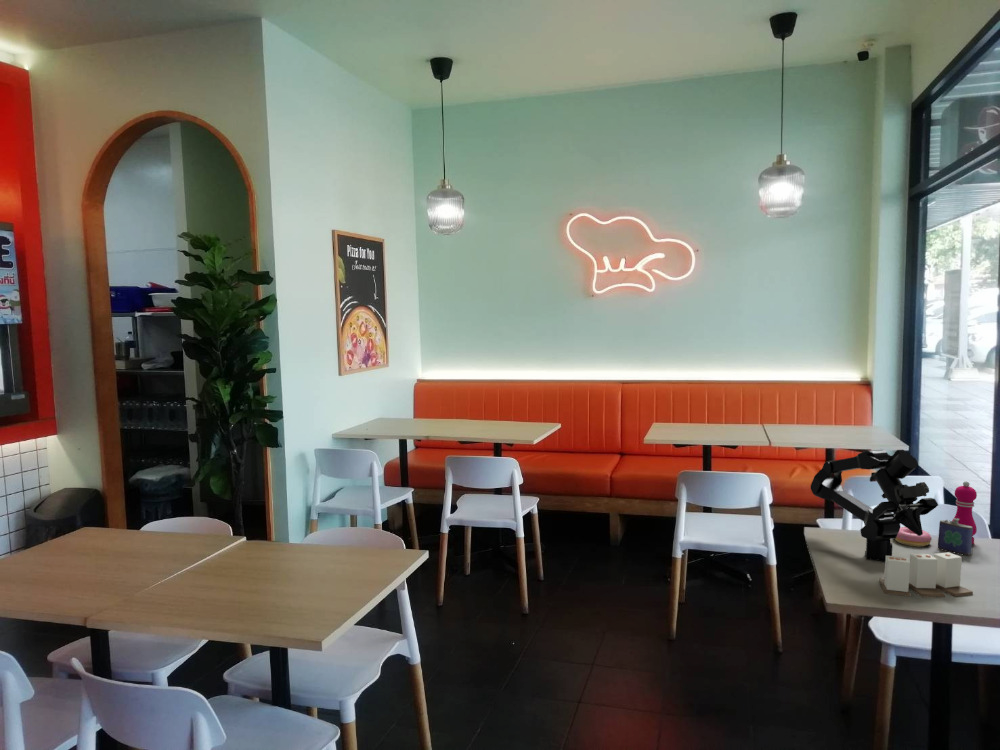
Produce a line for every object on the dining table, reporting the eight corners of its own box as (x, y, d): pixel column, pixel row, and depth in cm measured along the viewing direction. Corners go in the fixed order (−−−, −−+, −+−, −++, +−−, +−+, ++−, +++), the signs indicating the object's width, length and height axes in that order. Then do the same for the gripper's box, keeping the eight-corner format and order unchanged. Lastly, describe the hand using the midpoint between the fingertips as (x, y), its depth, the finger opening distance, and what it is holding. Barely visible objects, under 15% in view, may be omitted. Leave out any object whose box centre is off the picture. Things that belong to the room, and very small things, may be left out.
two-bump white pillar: (908, 582, 194) (910, 553, 193) (927, 582, 194) (928, 553, 193) (916, 588, 190) (918, 558, 189) (935, 588, 190) (937, 558, 189)
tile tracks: (881, 592, 190) (881, 589, 189) (877, 572, 204) (877, 570, 203) (979, 607, 180) (979, 604, 180) (968, 585, 194) (968, 582, 194)
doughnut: (892, 535, 238) (893, 522, 238) (931, 540, 232) (931, 528, 232) (891, 544, 229) (892, 531, 228) (931, 550, 223) (932, 537, 223)
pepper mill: (944, 539, 232) (948, 479, 230) (958, 537, 235) (962, 477, 233) (966, 546, 226) (970, 485, 224) (980, 543, 229) (985, 482, 227)
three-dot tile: (884, 584, 193) (885, 554, 192) (904, 586, 191) (906, 556, 190) (886, 589, 189) (888, 559, 188) (908, 592, 188) (909, 561, 187)
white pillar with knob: (932, 582, 194) (934, 553, 193) (946, 580, 195) (948, 551, 195) (945, 587, 190) (946, 558, 190) (959, 585, 192) (961, 556, 191)
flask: (972, 554, 219) (974, 520, 218) (968, 556, 217) (970, 522, 216) (939, 546, 226) (941, 514, 225) (935, 548, 224) (937, 515, 223)
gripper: (882, 474, 201) (911, 524, 192) (935, 470, 206) (966, 518, 197) (859, 494, 210) (887, 542, 200) (911, 490, 215) (940, 537, 205)
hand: (920, 535), depth 200 cm, fingers closed
